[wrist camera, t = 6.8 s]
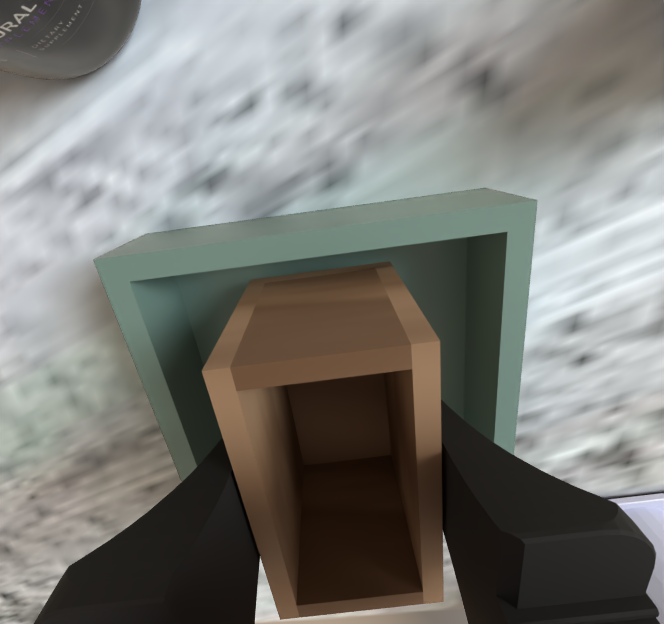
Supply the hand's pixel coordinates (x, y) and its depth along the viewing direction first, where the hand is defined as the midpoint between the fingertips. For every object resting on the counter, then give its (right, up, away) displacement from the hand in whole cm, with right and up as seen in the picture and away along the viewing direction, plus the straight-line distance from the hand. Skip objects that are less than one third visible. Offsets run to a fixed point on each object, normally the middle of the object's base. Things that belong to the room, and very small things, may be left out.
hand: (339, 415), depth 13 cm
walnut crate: (0, +1, +2) cm, 2 cm away
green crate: (0, +2, +4) cm, 4 cm away
